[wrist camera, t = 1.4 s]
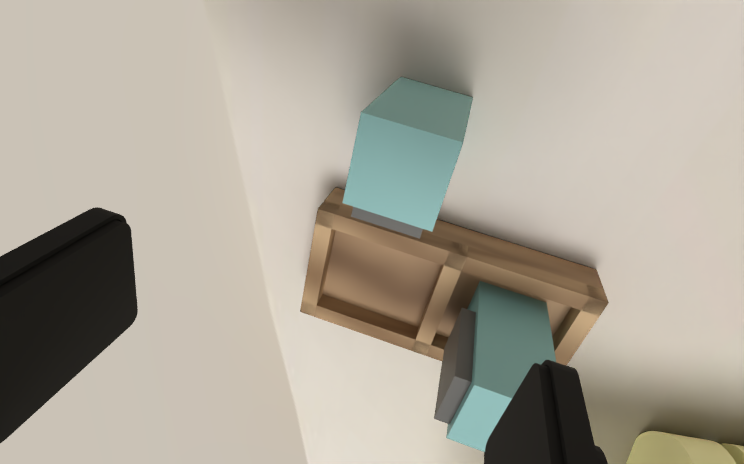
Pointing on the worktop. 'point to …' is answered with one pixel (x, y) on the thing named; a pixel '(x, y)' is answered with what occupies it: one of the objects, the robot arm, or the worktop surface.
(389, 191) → the teal rectangular block
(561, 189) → the worktop surface
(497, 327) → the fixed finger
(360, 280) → the divided wooden tray
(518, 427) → the robot arm
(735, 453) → the slatted curved stool
